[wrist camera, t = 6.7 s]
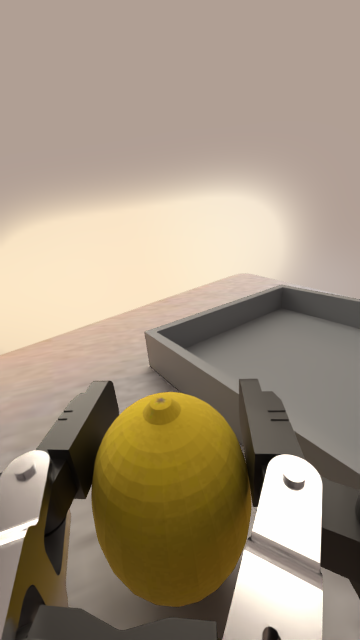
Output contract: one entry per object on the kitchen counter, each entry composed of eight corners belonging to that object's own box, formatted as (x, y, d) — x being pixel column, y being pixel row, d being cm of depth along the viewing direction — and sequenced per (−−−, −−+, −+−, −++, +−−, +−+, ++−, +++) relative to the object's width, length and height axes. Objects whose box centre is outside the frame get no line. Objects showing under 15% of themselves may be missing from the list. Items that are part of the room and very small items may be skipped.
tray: (149, 365, 25) (144, 331, 23) (279, 310, 35) (281, 284, 33) (352, 539, 11) (369, 480, 9) (473, 363, 21) (489, 323, 19)
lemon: (270, 533, 11) (281, 381, 8) (198, 716, 7) (171, 553, 4) (173, 468, 15) (155, 342, 12) (87, 570, 11) (28, 419, 8)
